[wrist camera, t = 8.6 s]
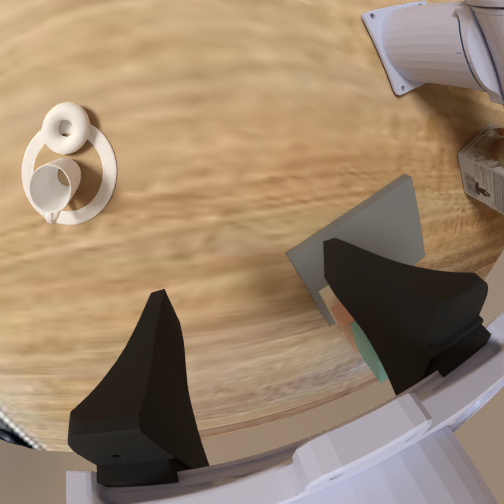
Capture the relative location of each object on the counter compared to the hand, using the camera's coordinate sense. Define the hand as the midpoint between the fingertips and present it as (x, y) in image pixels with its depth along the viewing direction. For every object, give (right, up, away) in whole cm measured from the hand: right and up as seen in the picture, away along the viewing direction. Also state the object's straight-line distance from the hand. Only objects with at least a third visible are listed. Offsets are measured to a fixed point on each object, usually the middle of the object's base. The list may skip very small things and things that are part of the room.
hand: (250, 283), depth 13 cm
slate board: (+12, +1, +15) cm, 19 cm away
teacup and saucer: (-10, +8, +5) cm, 14 cm away
